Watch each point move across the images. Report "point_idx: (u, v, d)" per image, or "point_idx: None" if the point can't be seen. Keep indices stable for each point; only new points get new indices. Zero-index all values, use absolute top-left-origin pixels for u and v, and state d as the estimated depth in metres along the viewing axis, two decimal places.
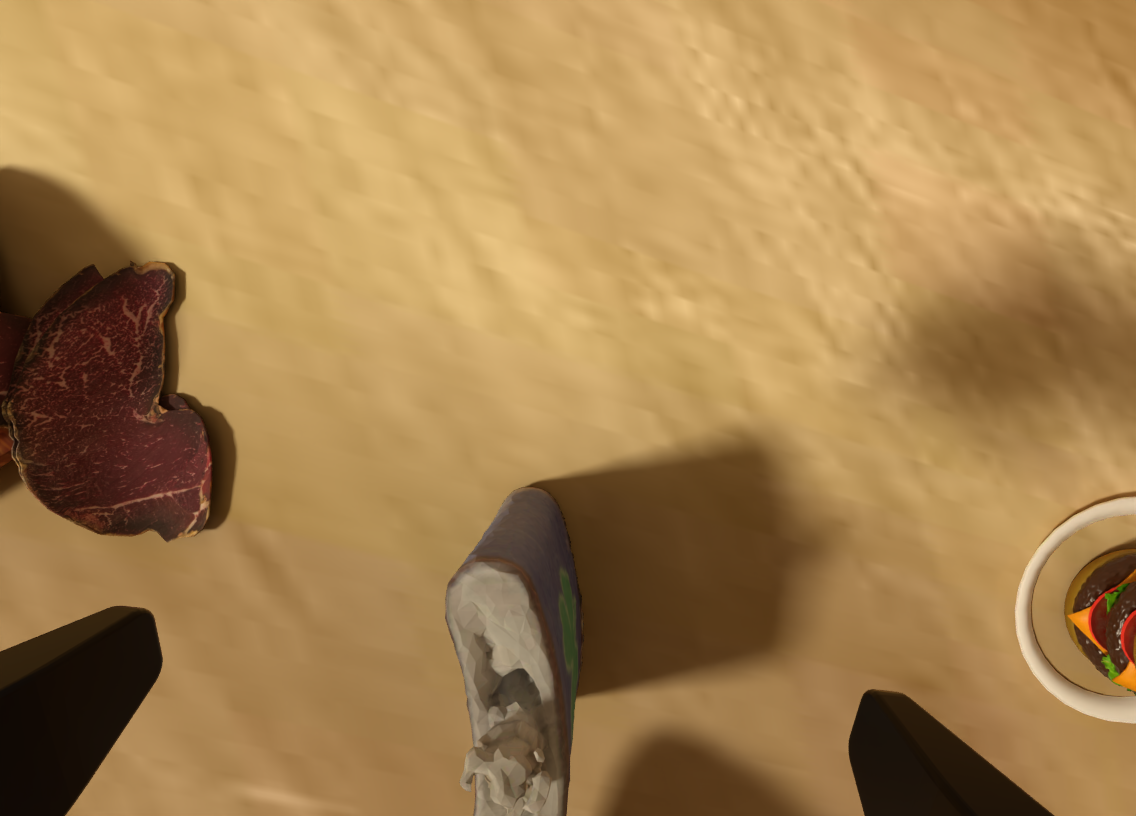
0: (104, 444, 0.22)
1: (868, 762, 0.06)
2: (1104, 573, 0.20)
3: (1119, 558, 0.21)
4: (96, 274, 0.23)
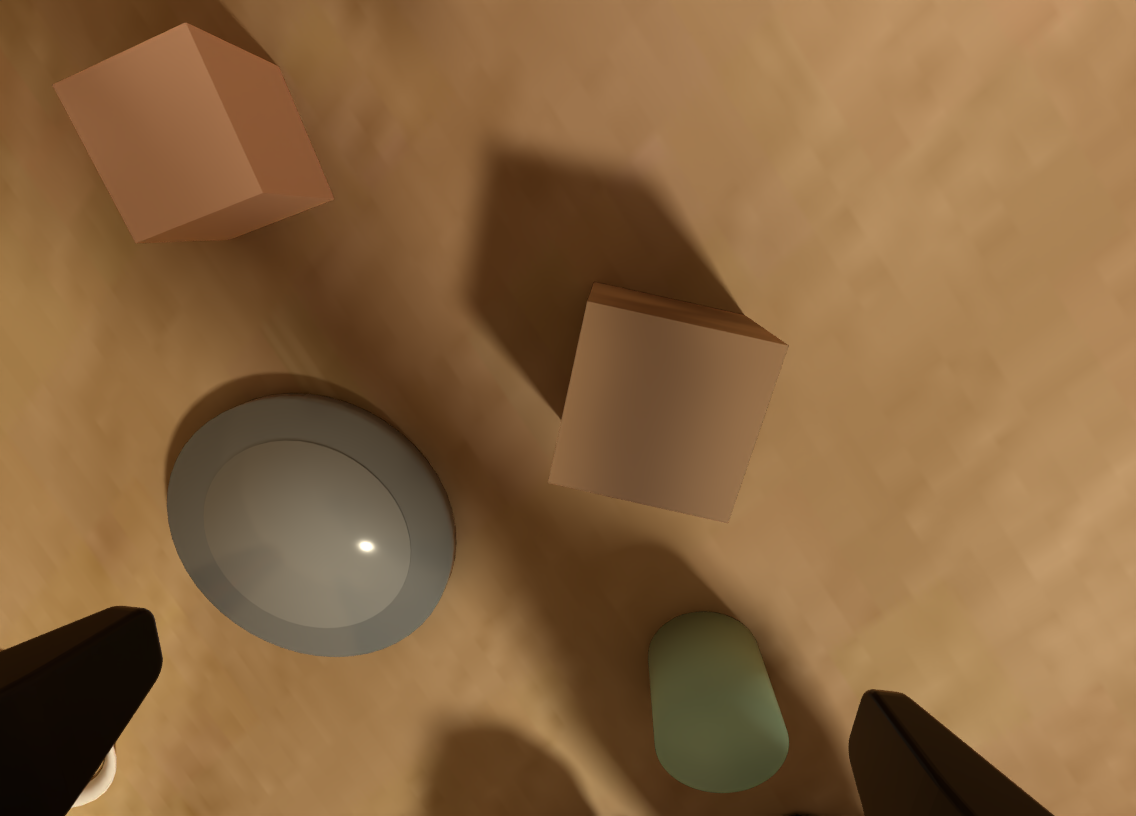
0: None
1: (868, 762, 0.06)
2: None
3: None
4: None
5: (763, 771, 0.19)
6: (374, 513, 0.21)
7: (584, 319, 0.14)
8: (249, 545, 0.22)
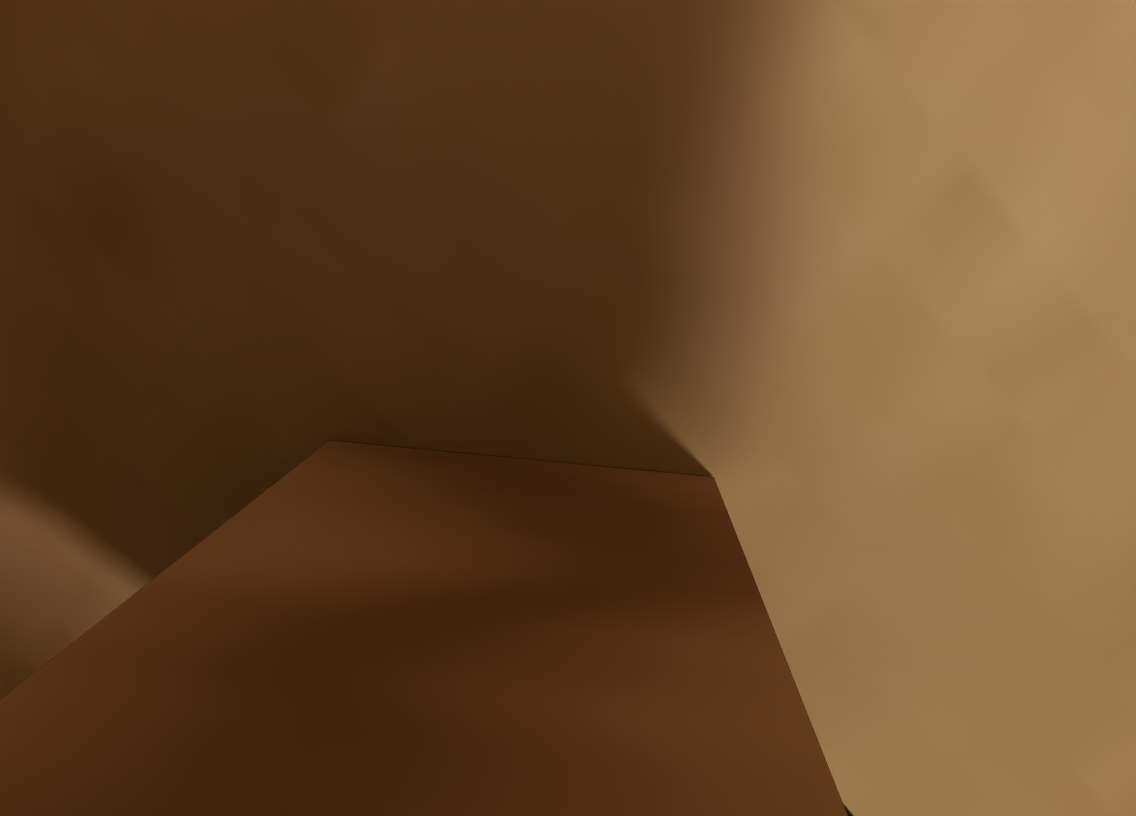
0: None
1: None
2: None
3: None
4: None
5: None
6: None
7: None
8: None
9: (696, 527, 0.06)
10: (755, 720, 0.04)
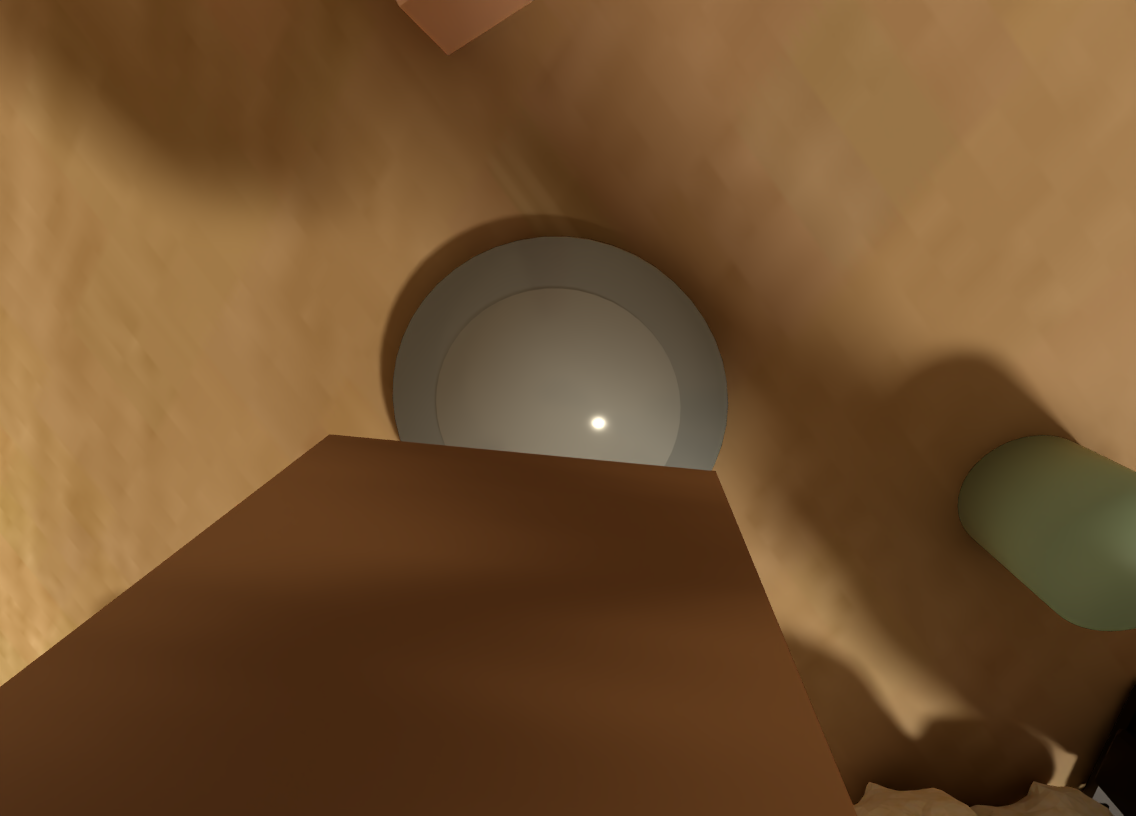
0: None
1: None
2: None
3: None
4: None
5: None
6: (636, 366, 0.18)
7: None
8: (488, 432, 0.19)
9: (698, 520, 0.06)
10: (759, 710, 0.04)
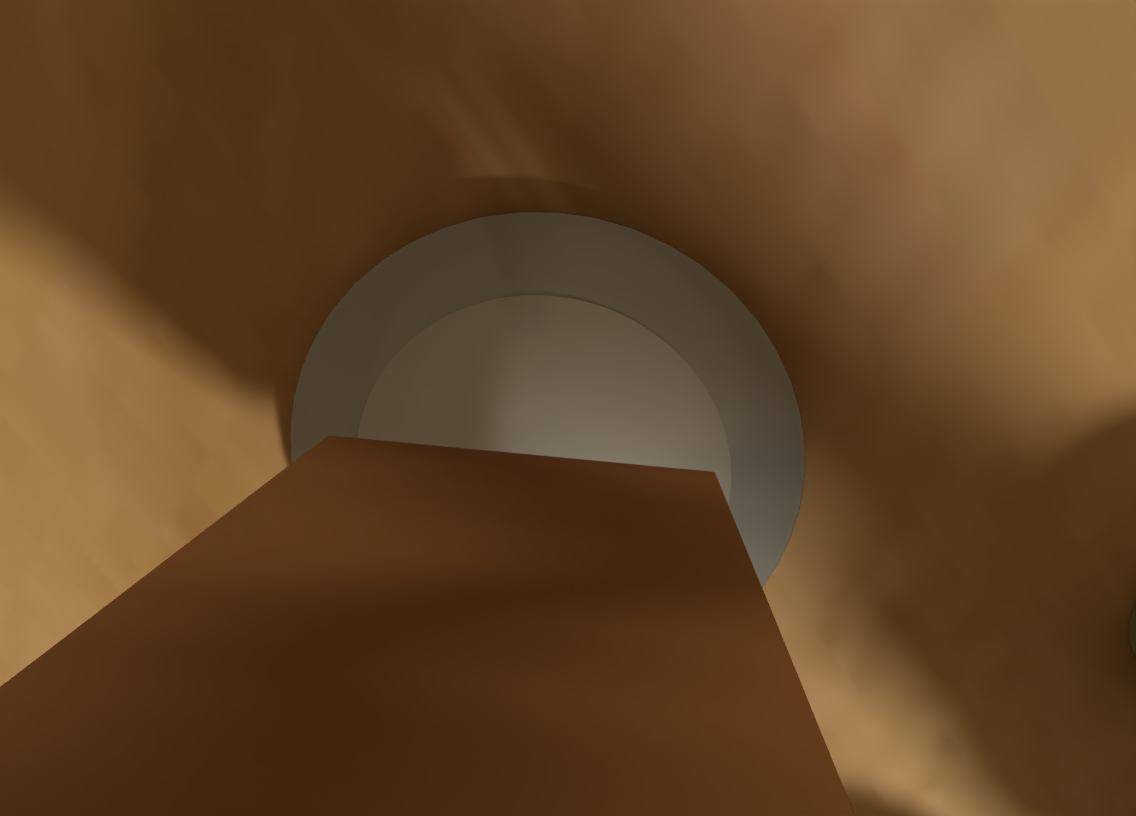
0: None
1: None
2: None
3: None
4: None
5: None
6: (664, 417, 0.11)
7: None
8: None
9: (697, 521, 0.06)
10: (757, 711, 0.04)
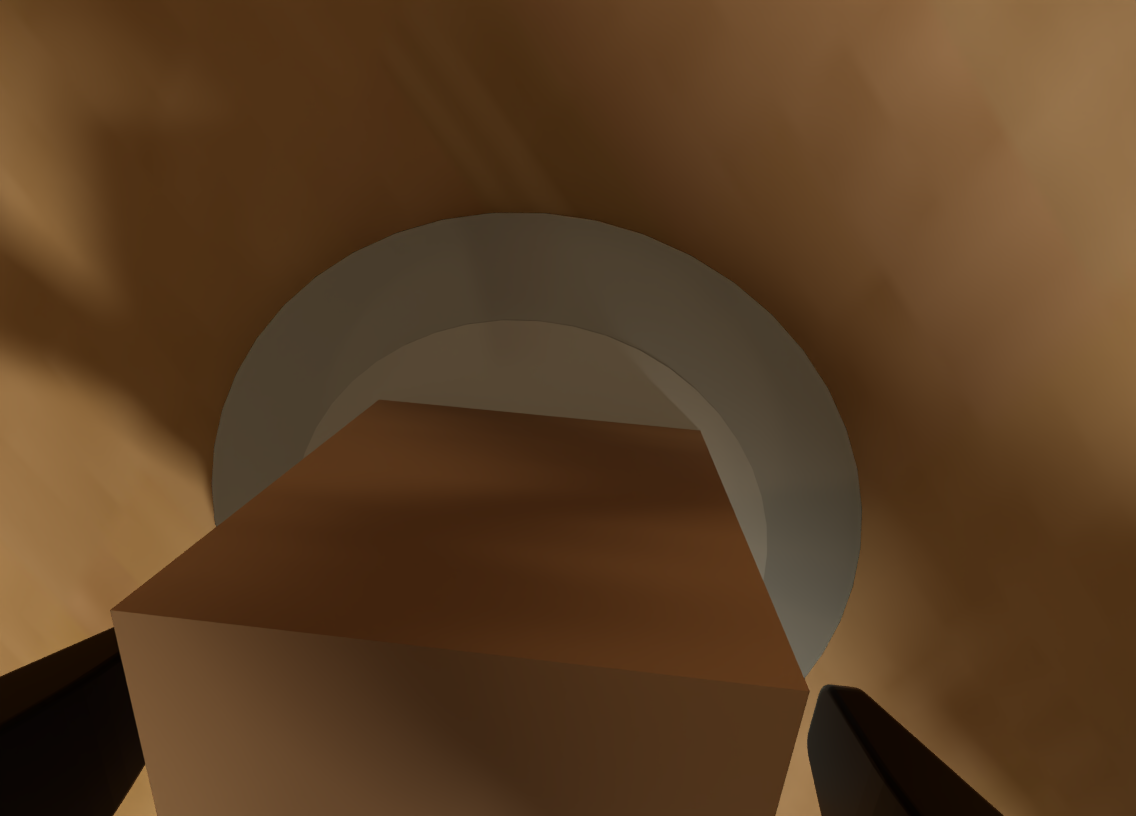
0: None
1: (823, 757, 0.06)
2: None
3: None
4: None
5: None
6: None
7: (126, 659, 0.04)
8: None
9: (684, 462, 0.07)
10: (720, 572, 0.05)
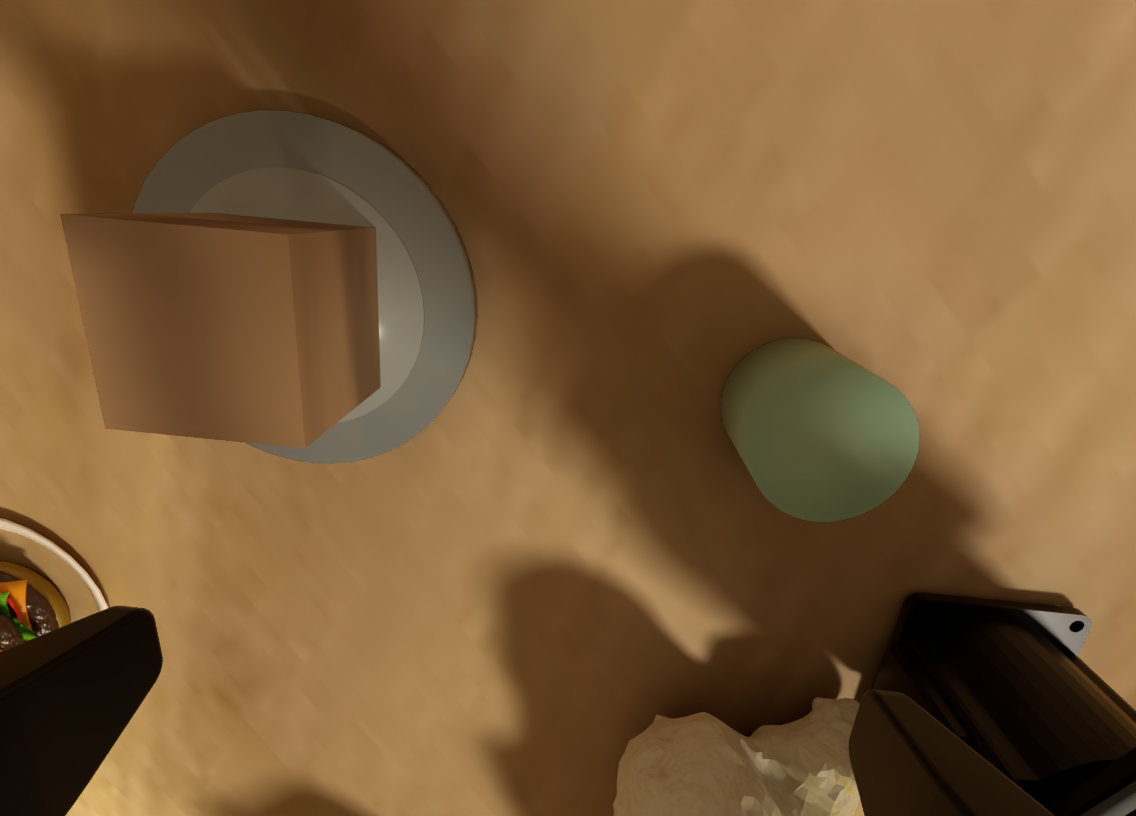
0: None
1: (868, 762, 0.06)
2: None
3: None
4: None
5: (888, 481, 0.15)
6: None
7: (66, 235, 0.12)
8: None
9: (343, 227, 0.15)
10: (301, 230, 0.13)
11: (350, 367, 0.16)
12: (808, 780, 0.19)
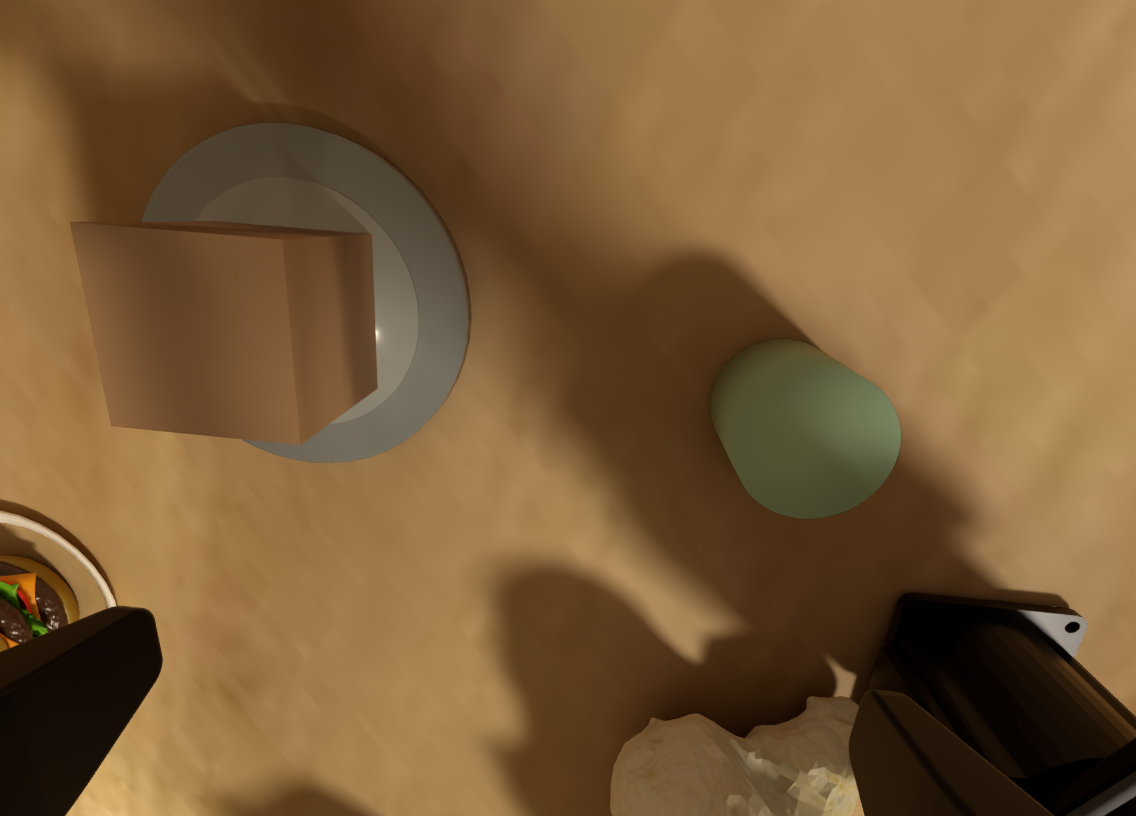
0: None
1: (868, 762, 0.06)
2: None
3: None
4: None
5: (871, 478, 0.15)
6: None
7: (75, 242, 0.13)
8: None
9: (340, 233, 0.16)
10: (297, 236, 0.14)
11: (346, 368, 0.16)
12: (799, 779, 0.19)
